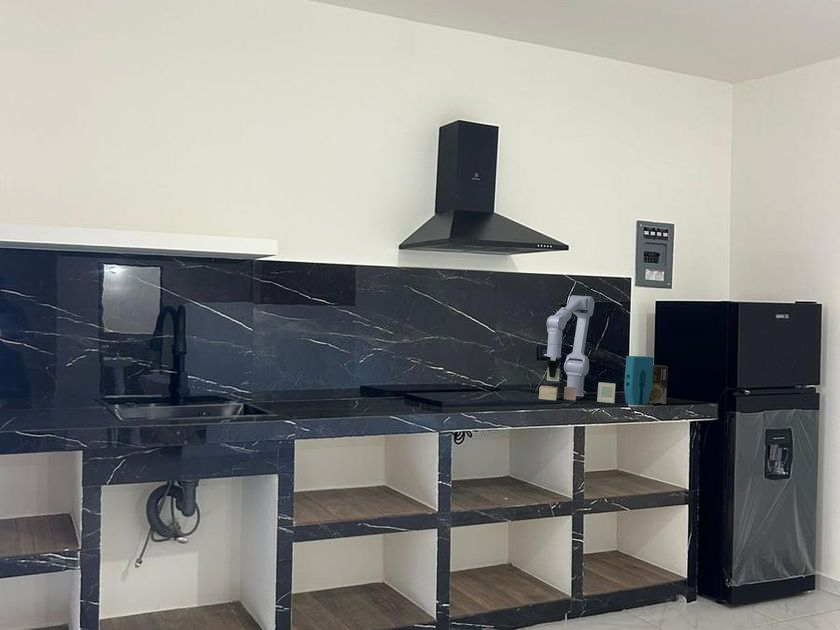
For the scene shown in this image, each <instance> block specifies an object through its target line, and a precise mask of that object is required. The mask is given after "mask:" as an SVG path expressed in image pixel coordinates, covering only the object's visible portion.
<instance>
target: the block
mask: <svg viewBox="0 0 840 630" xmlns="http://www.w3.org/2000/svg"><path fill="white" fill-rule="evenodd" d="M625 358H626V359H625V372H624V384H623V385H624V386H623V389H624V391H623V392H624V399H625V404H627V405H634V406H636V405H637V406H639V405H644V406H645V404H647V405H648V404H649V403H648V400H649V396H650V393H651V388H652V375H653V365H654V361H655V360H654V359H655V357H652V356H645V355H644V356H642V355H641V356H639V355H626V357H625Z"/></svg>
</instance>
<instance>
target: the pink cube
mask: <svg viewBox="0 0 840 630" xmlns="http://www.w3.org/2000/svg"><path fill="white" fill-rule="evenodd" d="M576 399H577V396H576V387H567V386H564V390H563V400H568V401H576Z"/></svg>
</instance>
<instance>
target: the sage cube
mask: <svg viewBox="0 0 840 630" xmlns="http://www.w3.org/2000/svg"><path fill="white" fill-rule="evenodd" d="M546 371H547V372H546V373H547V374H546V381H548V382H560V373H561V368H559V367H557V370H556V375H555V377H550V376H549V367H547V370H546Z"/></svg>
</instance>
